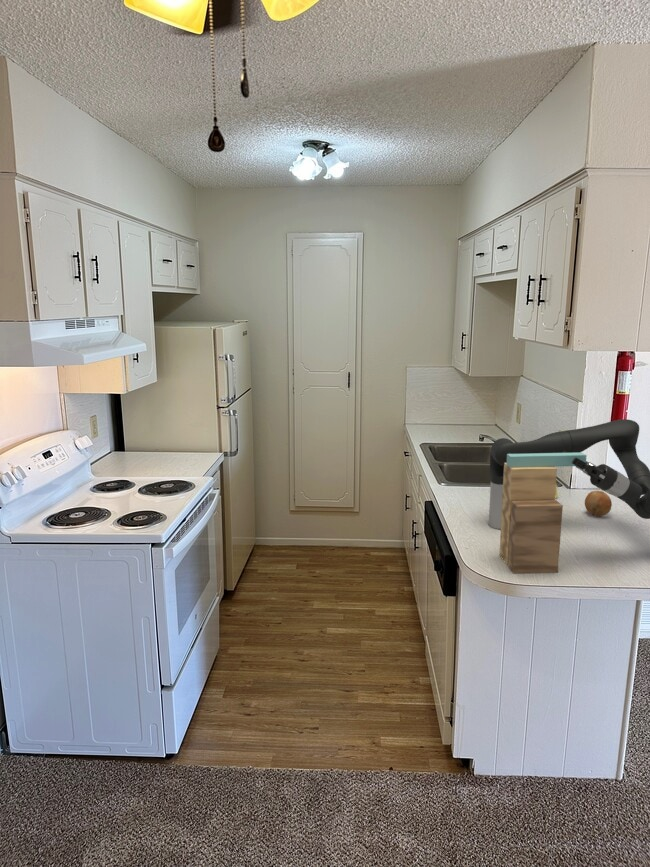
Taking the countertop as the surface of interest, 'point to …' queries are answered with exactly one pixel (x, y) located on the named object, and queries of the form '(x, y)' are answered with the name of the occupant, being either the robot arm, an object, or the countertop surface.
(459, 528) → the countertop surface
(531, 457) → the rail
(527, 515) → the step
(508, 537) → the stand
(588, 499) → the onion
